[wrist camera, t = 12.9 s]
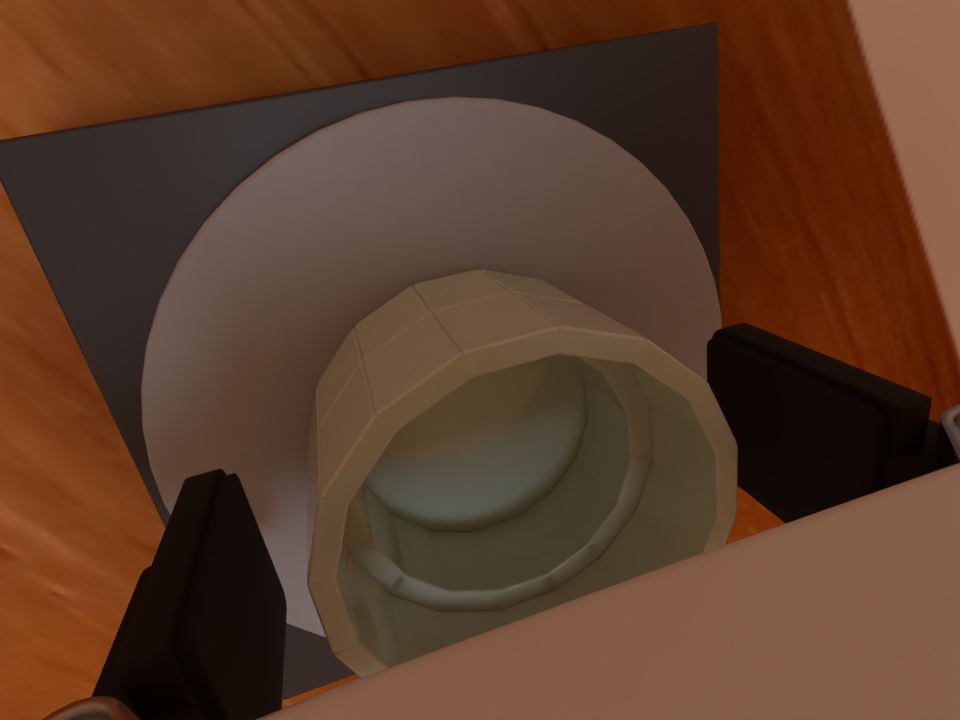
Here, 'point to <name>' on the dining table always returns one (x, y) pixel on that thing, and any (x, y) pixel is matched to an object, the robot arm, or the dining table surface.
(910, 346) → the dining table surface
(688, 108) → the scale
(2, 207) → the dining table surface
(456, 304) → the bowl
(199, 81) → the dining table surface
